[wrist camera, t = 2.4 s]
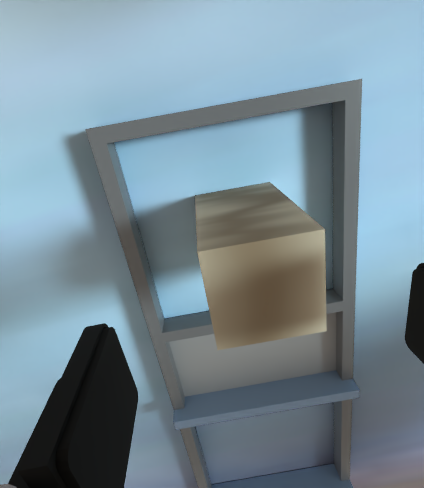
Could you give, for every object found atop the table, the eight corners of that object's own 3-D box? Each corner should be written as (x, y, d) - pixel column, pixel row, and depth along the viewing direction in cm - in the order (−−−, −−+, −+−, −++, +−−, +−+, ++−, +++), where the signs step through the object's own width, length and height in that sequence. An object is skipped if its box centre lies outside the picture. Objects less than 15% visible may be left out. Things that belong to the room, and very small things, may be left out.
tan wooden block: (269, 181, 18) (325, 229, 10) (275, 249, 20) (326, 331, 12) (194, 195, 18) (197, 252, 10) (207, 262, 20) (217, 350, 12)
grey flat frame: (347, 82, 16) (373, 76, 14) (341, 467, 29) (354, 497, 27) (94, 128, 16) (78, 130, 14) (204, 490, 29) (205, 522, 27)
